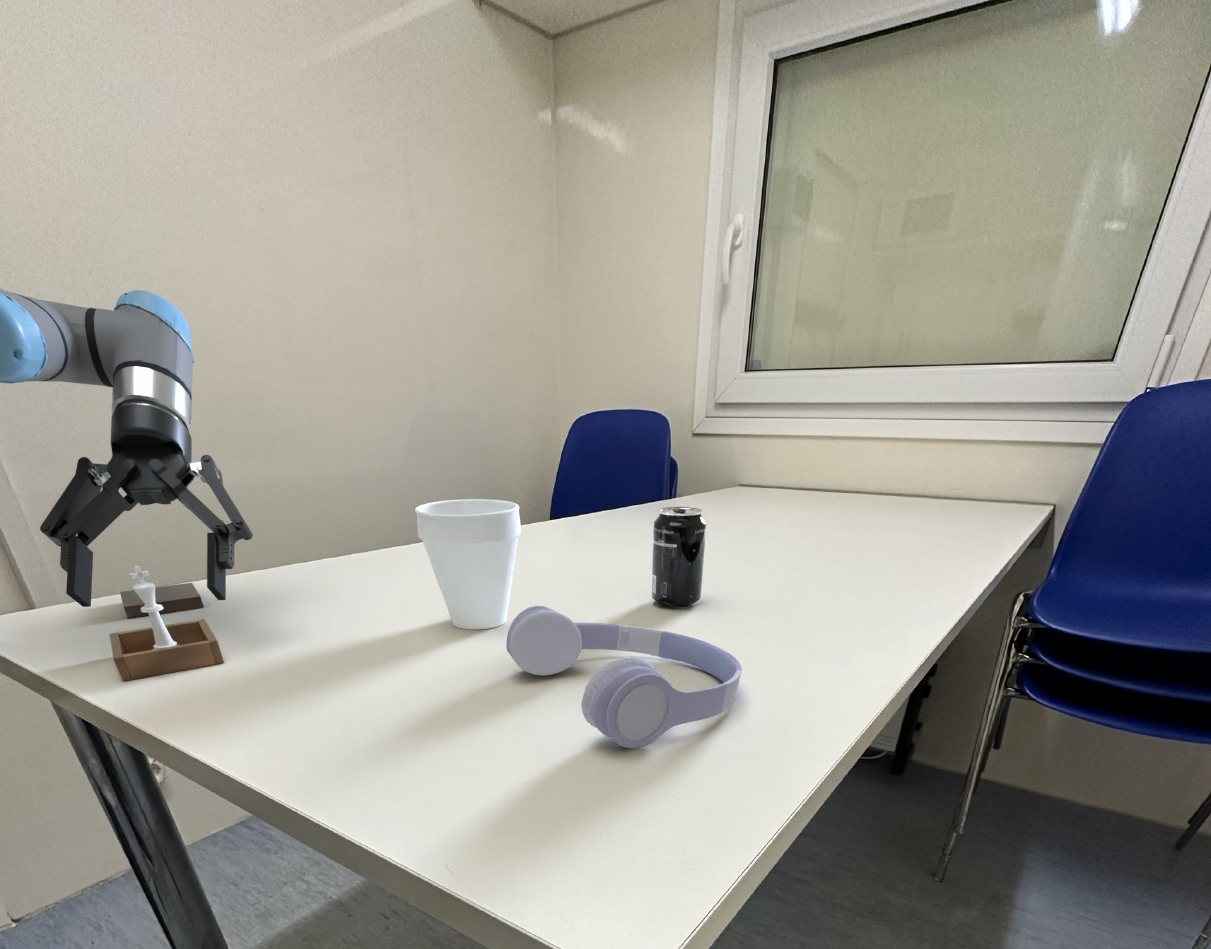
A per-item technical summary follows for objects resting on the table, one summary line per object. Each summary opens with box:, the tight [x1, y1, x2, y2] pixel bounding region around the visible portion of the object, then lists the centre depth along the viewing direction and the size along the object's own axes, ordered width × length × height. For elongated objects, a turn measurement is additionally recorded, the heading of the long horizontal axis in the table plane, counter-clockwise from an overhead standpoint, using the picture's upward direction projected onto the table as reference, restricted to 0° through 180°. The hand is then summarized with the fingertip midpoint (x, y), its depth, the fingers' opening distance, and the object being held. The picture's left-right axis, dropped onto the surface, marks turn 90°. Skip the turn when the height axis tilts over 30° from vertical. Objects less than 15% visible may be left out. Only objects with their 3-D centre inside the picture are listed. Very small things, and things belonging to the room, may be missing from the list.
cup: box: [414, 498, 522, 631], centre depth 83 cm, size 12×12×14 cm
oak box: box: [109, 618, 225, 682], centre depth 74 cm, size 10×10×2 cm
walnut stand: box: [119, 582, 205, 619], centre depth 93 cm, size 9×9×2 cm
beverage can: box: [651, 506, 707, 609], centre depth 90 cm, size 7×7×12 cm
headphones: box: [505, 605, 743, 749], centre depth 65 cm, size 22×7×20 cm
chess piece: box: [128, 565, 178, 650], centre depth 72 cm, size 5×5×10 cm
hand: (148, 597), depth 71 cm, fingers open, 13 cm apart
